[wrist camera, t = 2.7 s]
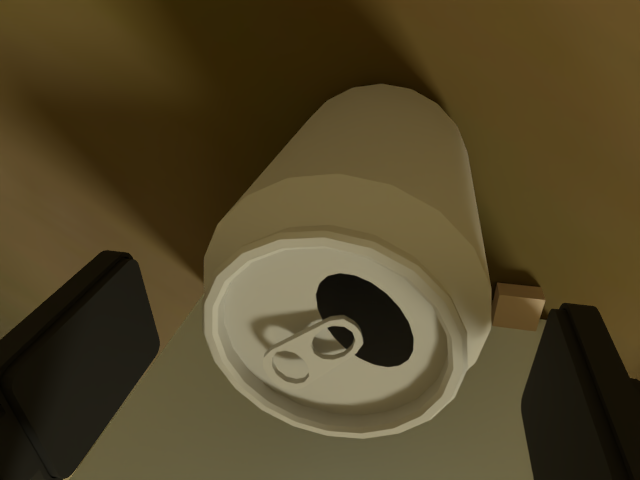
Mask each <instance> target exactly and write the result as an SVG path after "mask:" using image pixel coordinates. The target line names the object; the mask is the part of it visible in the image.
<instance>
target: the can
mask: <svg viewBox="0 0 640 480" xmlns="http://www.w3.org/2000/svg"><path fill="white" fill-rule="evenodd" d="M491 290H492V289H491V283H490V278H489V272H488V266H487V261H486V255H485V249H484V244H483V238H482V232H481V227H480V221H479V215H478V210H477V204H476V198H475V193H474V187H473V181H472V176H471V170H470V164H469V159H468V153H467V150H466V147H465V145H464V142H463V140H462V137H461V135H460V132H459V129H458V127H457V125H456V124H455V123H454V122H453V121H452V120H451V118H450V117H449V116H448V115H447V114H446V113H445V112H444V110H443V109H442V108H441V107H440V106H439V105H438V104H437V103H435V102H433V101H432V100H430V99H428V98H426V97H425V96H423V95H421V94H419V93H418V92H416V91H414V90H412V89H408V88H403V87H398V86H392V85H387V84H375V85H368V86H361V87H354V88H351V89H349V90H347V91H345V92H343V93H341V94H339V95H337V96H335V97H333V98H331V99H329V100H327V101H326V102H325V103H324V104H323V105H322V106H321V107H320V108H319V109H318V110H317V111H316V112H315V113H314V114H313V115H312V116H311V117H310V118H309V119H308V121H307V122H306V123H305V124H304V125H303V126H302V127H301V129H300V130H299V131H298V132H297V133H296V134H295V136H294V137H293V138H292V139H291V140H290V141H289V142H288V144H287V145H286V146H285V147H284V148H283V149H282V151H281V152H280V153H279V154H278V155H277V156H276V157H275V159H274V160H273V161H272V162H271V163H270V164H269V166H268V167H267V168H266V169H265V170H264V171H263V172H262V174H261V175H260V176H259V177H258V178H257V179H256V181H255V182H254V183H253V184H252V185H251V186H250V187H249V189H248V190H247V191H246V192H245V193H244V194H243V195H242V197H241V198H240V199H239V200H238V201H237V202H236V204H235V205H234V206H233V207H232V208H231V209H230V210H229V212H228V213H227V214H226V215H225V216H224V217H223V219H222V220H221V221H220V222H219V223H218V224H217V227H216V229H215V232H214V234H213V237H212V239H211V241H210V244H209V246H208V249H207V251H206V254H205V256H204V297H203V299H202V331H203V334H204V336H205V339H206V342H207V344H208V347H209V350H210V352H211V355H212V357H213V360H214V361H215V363H216V364H217V365H218V367H219V368H220V369H221V371H222V372H223V373H224V375H225V376H226V377H227V378H228V380H229V381H230V382H231V384H232V385H233V386H234V388H235V389H236V390H238V391H239V392H240V393H241V394H243V395H244V396H245V397H246V398H248V399H249V400H250V401H251V402H253V403H254V404H255V405H256V406H257V407H259V408H260V409H261V410H263V411H265V412H267V413H269V414H271V415H272V416H274V417H276V418H278V419H280V420H282V421H284V422H286V423H288V424H290V425H292V426H294V427H298V428H301V429H305V430H308V431H312V432H316V433H319V434H323V435H326V436H334V437H347V438H360V439H365V438H372V437H379V436H386V435H393V434H398V433H401V432H404V431H406V430H408V429H410V428H413V427H415V426H417V425H420V424H422V423H424V422H427V421H429V420H431V419H432V418H433V417H434V416H435V415H437V414H438V413H439V412H440V411H441V410H442V409H443V408H444V407H445V406H446V405H447V404H449V403H450V402H451V401H452V400H453V399H454V398H455V396H456V394H457V392H458V389H459V387H460V385H461V383H462V381H463V378H464V376H465V374H466V372H467V370H468V369H469V368H470V367H471V366H472V365H474V364H475V363H476V361H477V359H478V356H479V354H480V352H481V350H482V348H483V346H484V343H485V341H486V339H487V337H488V335H489V332H490V330H491Z"/></svg>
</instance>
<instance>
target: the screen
mask: <svg viewBox="0 0 640 480" xmlns="http://www.w3.org/2000/svg"><path fill="white" fill-rule="evenodd" d="M203 297H204V294H203V295H202V297H201V298H200V300H199V301H198V302H197V304H196V305H195V307H194V308H193V309H192V311H191V312H190V313H189V315H188V316H187V318H186V319H185V320H184V322H183V323H182V325H181V326H180V327H179V329H178V330H177V331H176V333H175V334H174V336H173V337H172V338H171V340H170V341H169V343H168V344H167V345H166V347H165V348H164V349H163V351H162V352H161V354H160V355H159V356H158V358H157V359H156V361H155V362H154V363H153V365H152V366H151V367H150V369H149V370H148V372H147V373H146V374H145V376H144V377H143V378H142V380H141V381H140V383H139V384H138V385H137V387H136V388H135V390H134V391H133V392H132V394H131V395H130V396H129V398H128V399H127V401H126V402H125V403H124V405H123V406H122V408H121V409H120V410H119V412H118V413H117V414H116V416H115V417H114V419H113V420H112V421H111V423H110V424H109V426H108V427H107V428H106V430H105V431H104V432H103V434H102V435H101V437H100V438H99V439H98V441H97V442H96V444H95V445H94V446H93V448H92V449H91V450H90V452H89V453H88V455H87V456H86V457H85V459H84V460H83V462H82V463H81V464H80V466H79V467H78V468H77V470H76V471H75V473H74V474H73V475H72V477H71V478H70V480H534V478H533V473H532V468H531V462H530V457H529V452H528V446H527V441H526V436H525V430H524V425H523V420H522V414H521V399H522V395H523V392H524V389H525V385H526V382H527V379H528V376H529V373H530V370H531V367H532V364H533V361H534V358H535V355H536V352H537V349H538V345H539V342H540V339H541V336H542V333H543V330H544V327H545V324H546V321H547V320H543V319H540V316H541V313H542V310H543V307H544V303H545V297H544V294H543V291H542V288H541V287H534V286H525V285H516V284H507V283H498V282H497V285H496V289H495V294H494V298H493V302H492V307H491V330H490V332H489V335H488V337H487V339H486V341H485V343H484V346H483V348H482V350H481V352H480V354H479V356H478V359H477V361H476V363H475V364H474V365H472V366H471V367H470V368H469V369H468V370H467V372H466V374H465V376H464V378H463V381H462V383H461V385H460V387H459V389H458V392H457V394H456V396H455V398H454V399H453V400H452V401H451V402H450V403H449V404H447V405H446V406H445V407H444V408H443V409H442V410H441V411H440V412H439V413H438V414H437V415H435V416H434V417H433V418H432V419H431V420H429V421H427V422H424V423H422V424H420V425H417V426H415V427H413V428H410V429H408V430H406V431H404V432H401V433H398V434H393V435H386V436H379V437H372V438H365V439H360V438H347V437H334V436H326V435H323V434H319V433H316V432H312V431H308V430H305V429H301V428H298V427H294V426H292V425H290V424H288V423H286V422H284V421H282V420H280V419H278V418H276V417H274V416H272V415H271V414H269V413H267V412H265V411H263V410H261V409H260V408H259V407H257V406H256V405H255V404H254V403H253V402H251V401H250V400H249V399H248V398H246V397H245V396H244V395H243V394H241V393H240V392H239V391H238V390H236V389H235V388H234V386H233V385H232V384H231V382H230V381H229V380H228V378H227V377H226V376H225V375H224V373H223V372H222V371H221V369H220V368H219V367H218V365H217V364H216V363H215V361H214V360H213V357H212V355H211V352H210V350H209V347H208V344H207V342H206V339H205V336H204V334H203V331H202V299H203Z"/></svg>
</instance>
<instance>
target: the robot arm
mask: <svg viewBox="0 0 640 480" xmlns="http://www.w3.org/2000/svg"><path fill="white" fill-rule="evenodd" d="M159 346H160V341H159V336H158V333H157V329H156V326H155V322H154V318H153V315H152V311H151V308H150V304H149V300H148V297H147V293H146V290H145V286H144V282H143V279H142V275H141V272H140V268H139V265H138V262H137V261H136V260H134V259H133V257H132V256H131V255H130V254H129V253H126V252H117V251H108V250H106V251H102V252H101V253H99V254H98V255H97V256H96V257H95V258H94V259H93V260H91V261H90V262H89V263H88V264H87V265H86V266H84V267H83V268H82V269H81V270H80V271H79V272H78V273H76V274H75V275H74V276H73V277H72V278H71V279H70V280H68V281H67V282H66V283H65V284H64V285H63V286H62V287H60V288H59V289H58V290H57V291H56V292H55V293H54V294H52V295H51V296H50V297H49V298H48V299H47V300H46V301H44V302H43V303H42V304H41V305H40V306H39V307H38V308H36V309H35V310H34V311H33V312H32V313H31V314H30V315H28V316H27V317H26V318H25V319H24V320H23V321H22V322H20V323H19V324H18V325H17V326H16V327H15V328H13V329H12V330H11V331H10V332H9V333H8V334H7V335H5V336H4V337H3V338H2V339H1V340H0V480H63V479H65V478H68V477H69V476H70V475H71V474H72V473H73V472H74V471H75V470H76V468H77V467H78V465H79V464H80V462H81V461H82V460H83V458H84V457H85V455H86V454H87V453H88V451H89V450H90V448H91V447H92V446H93V444H94V443H95V441H96V440H97V438H98V437H99V436H100V434H101V433H102V431H103V430H104V429H105V427H106V426H107V424H108V423H109V421H110V420H111V419H112V417H113V416H114V414H115V413H116V412H117V410H118V409H119V407H120V406H121V404H122V403H123V402H124V400H125V399H126V397H127V396H128V395H129V393H130V392H131V390H132V389H133V388H134V386H135V385H136V383H137V382H138V380H139V379H140V378H141V376H142V375H143V373H144V372H145V371H146V369H147V368H148V366H149V365H150V363H151V362H152V361H153V359H154V358H155V356H156V355H157V353H158V350H159ZM521 414H522V420H523V425H524V430H525V436H526V441H527V446H528V452H529V457H530V462H531V468H532V473H533V478H534V480H640V381H639V380H637V379H632V378H629V375H628V373H627V371H626V369H625V367H624V365H623V363H622V360H621V358H620V356H619V354H618V352H617V350H616V347H615V345H614V343H613V341H612V339H611V337H610V334H609V332H608V330H607V328H606V326H605V324H604V322H603V319H602V317H601V315H600V313H599V311H598V309H597V308H596V307H594V306H587V305H579V304H570V303H563V304H562V305H561V306H560V308H559V309H551V310H550V312H549V315H548V318H547V321H546V324H545V327H544V330H543V333H542V336H541V339H540V342H539V345H538V349H537V352H536V355H535V358H534V361H533V364H532V367H531V370H530V373H529V376H528V379H527V382H526V385H525V389H524V392H523V395H522V399H521Z"/></svg>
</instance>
